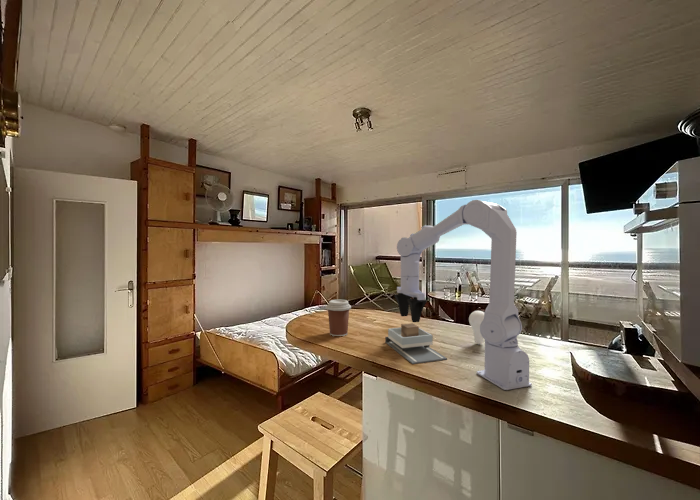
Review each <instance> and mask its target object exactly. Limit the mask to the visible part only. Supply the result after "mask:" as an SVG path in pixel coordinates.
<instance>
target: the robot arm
mask: <svg viewBox="0 0 700 500" xmlns="http://www.w3.org/2000/svg"><path fill="white" fill-rule="evenodd" d="M464 225H470V226H471V227H473V228H477V229H479V230H481V231H482V232H483V233H485V234H486V235H487V236H488V237H489V238H490V239H491V245H490V246H491V247H490V276H489V280H490V281H489V303H488V305H487V306H486V308H485V311H483V312H484V319H483V321H482V323H481V325H480V332H481V335H482V337H483V340H484V369H482V370H477V371H476V374H478V376H480V377H482V378H483V379H486V381H489V382H491V383H492V384H493V385H495V386H497V387H499V388H500V389H502V390H504V391H508V390H514V389H519V388H525V387H531V386H532V385H533V384H532V383H533V382H532V383H531V381H530V357H529V355H528V353H527V352H525V351H524V350H522V349H521V348H520V346H519V342H518V336H519V335H520V334H521V332H522V330H523V325H522V324H523V323H522V321H521V319H520V316H519V309H518V307H517V306H516V305H515V287H516V286H515V285H516V284H515V282H516V260H517V259H516V258H517V254H516V253H517V228H516V226H515V225H514V223H513V222H512V220H511V218H510V217H509V215H508V210H507V209H506V208H505V207H503V206H502V205H501V204H498V203H496V202H488V201H483V200H480V199H472V200H471V201H469V202H467V203H466V204H463V205H461V206H460V207H459V208H458V209H457V210H456V211H454V212H453V213H451V214H450V215H449V216H447V217H446V218H444V219H443V220H441V221H440V222H438V223H437V224H435V225H430V224H429V225H422V226H421V229H420V230H418V231H417V232H415V233H411V234H409V235H410V236H409V237H404V236H403V237H401V238H400V239H399V240H398V241H397V244H396V250H397V254H398V255H400V286H396V294H394V298H395V300H396V303H397V305H398V309H399V313H400V317H408V315H409V309H410V317H411V323H419V322H420V320H421V316H422V312H423V310H424V307H425V306H426V304H427V302H428V300H427V299H425V295H426V294H425V293H424V292H422V291H421V290H420V260H421V255H422V253H423V251H424V250H427V249H428V248H430V247H432V246H434V245H435V244H437V243H439V241H440V238H441V236H443V235H445V234H448V233H450V232H452V231H454V230H456V229H457V228H459V227H462V226H464Z"/></svg>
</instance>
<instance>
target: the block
mask: <svg viewBox="0 0 700 500" xmlns="http://www.w3.org/2000/svg"><path fill="white" fill-rule="evenodd" d="M400 328H401V336H402V337H412V336H419V328H420V327H419V325H416V324H415V323H414V322H411V323H401V325H400Z"/></svg>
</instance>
